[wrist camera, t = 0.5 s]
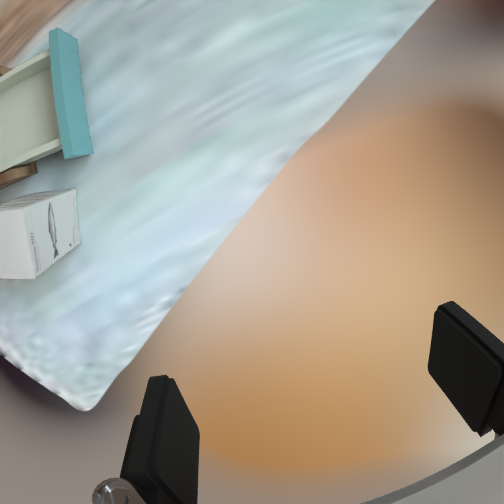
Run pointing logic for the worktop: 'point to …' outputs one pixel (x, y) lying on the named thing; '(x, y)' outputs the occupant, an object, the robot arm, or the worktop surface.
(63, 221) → the supplement box
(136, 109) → the worktop surface
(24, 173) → the organizer
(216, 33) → the worktop surface
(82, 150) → the tray
